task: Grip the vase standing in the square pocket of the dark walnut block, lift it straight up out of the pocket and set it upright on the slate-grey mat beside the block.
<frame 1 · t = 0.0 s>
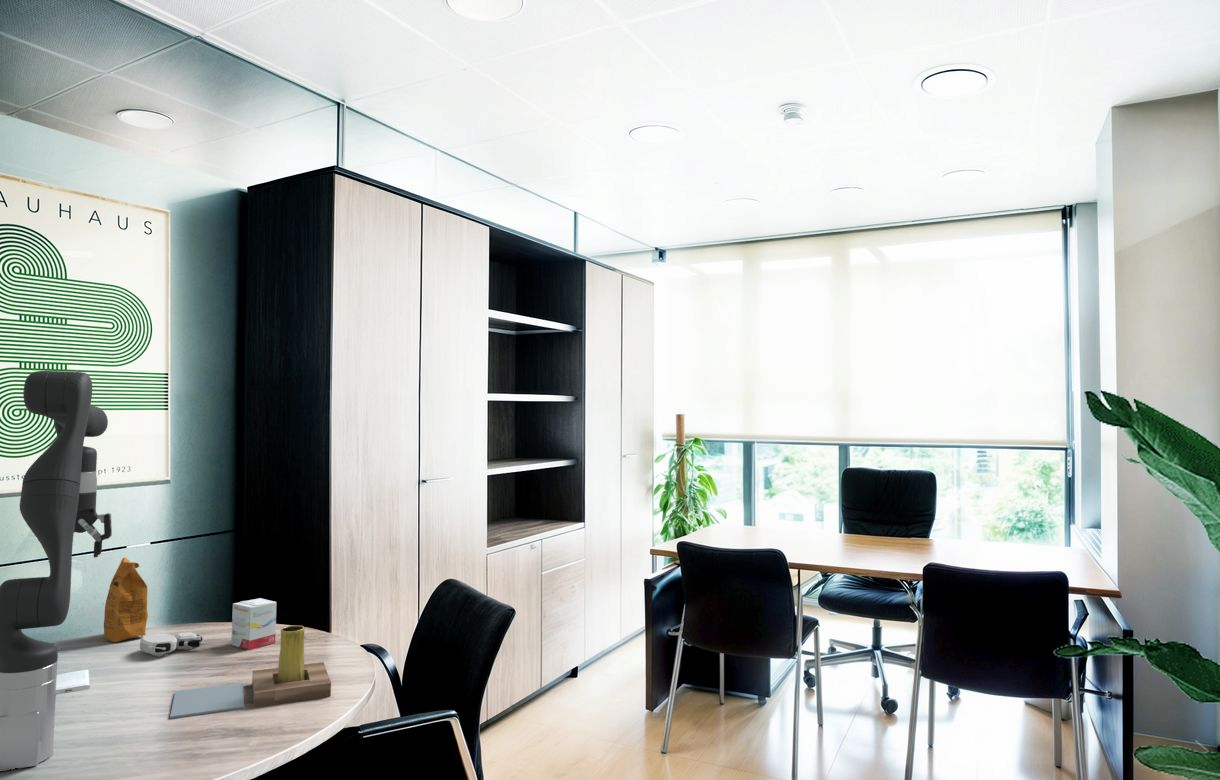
hand: (74, 558, 179), 29 cm above the table, tool pointing down, fingers open, 8 cm apart
pocket block: (290, 689, 175), on the table
hard drive: (67, 687, 176), on the table
vase: (290, 690, 175), resting in pocket block
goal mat: (208, 700, 167), on the table
ink box: (253, 644, 209), on the table
robot toy: (171, 652, 202), on the table
coffee package: (124, 637, 214), on the table
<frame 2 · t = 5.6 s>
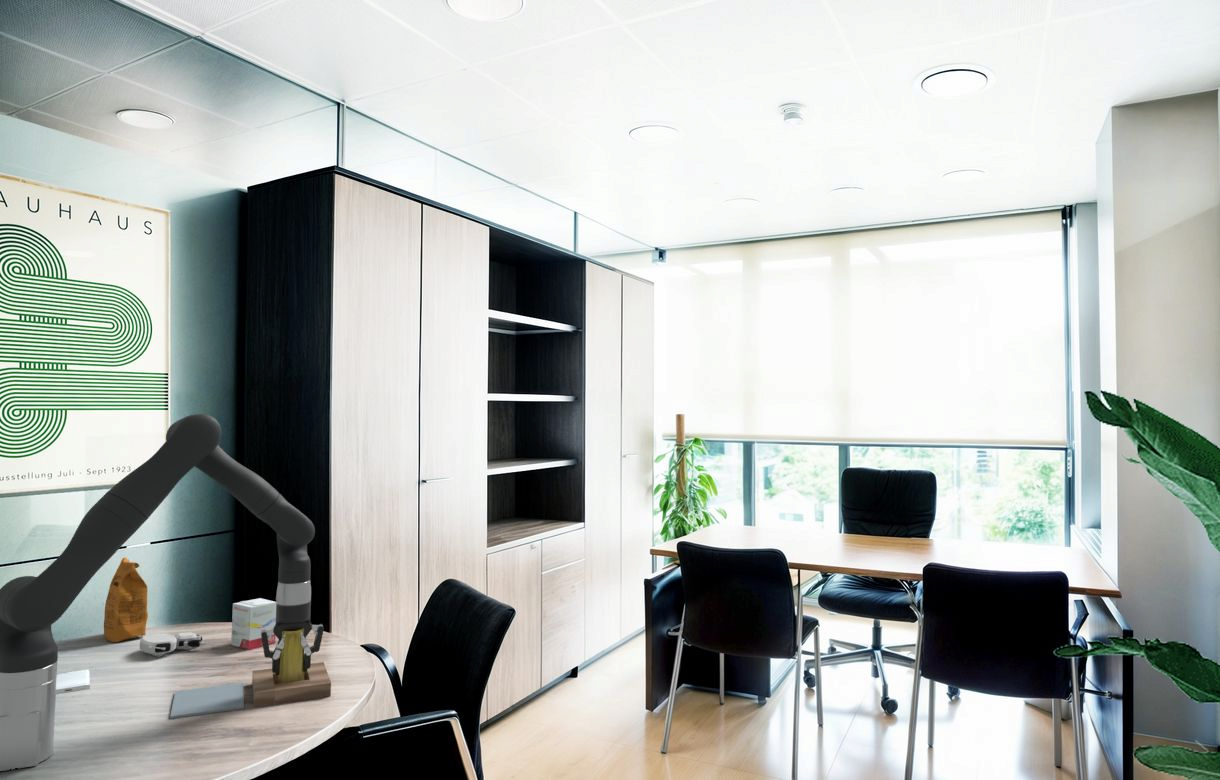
hand: (291, 672, 175), 4 cm above the table, tool pointing down, fingers closed on vase, 5 cm apart
vase: (290, 690, 175), resting in pocket block, touching gripper
everything else where it was.
when the fingers open (6 cm above the table, at t = 11.3 s): vase drops 1 cm, resting on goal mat.
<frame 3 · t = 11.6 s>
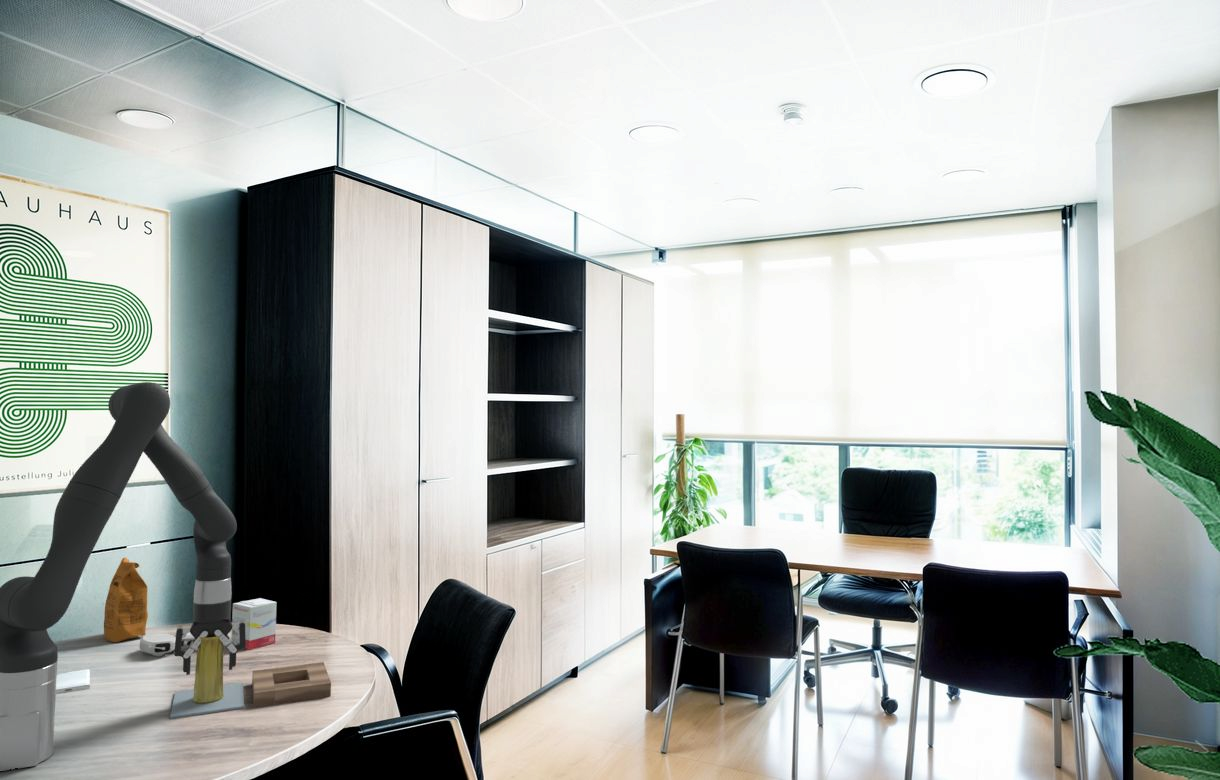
hand: (209, 671, 168), 7 cm above the table, tool pointing down, fingers open, 8 cm apart
vase: (208, 699, 167), resting on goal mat
everything else where it was.
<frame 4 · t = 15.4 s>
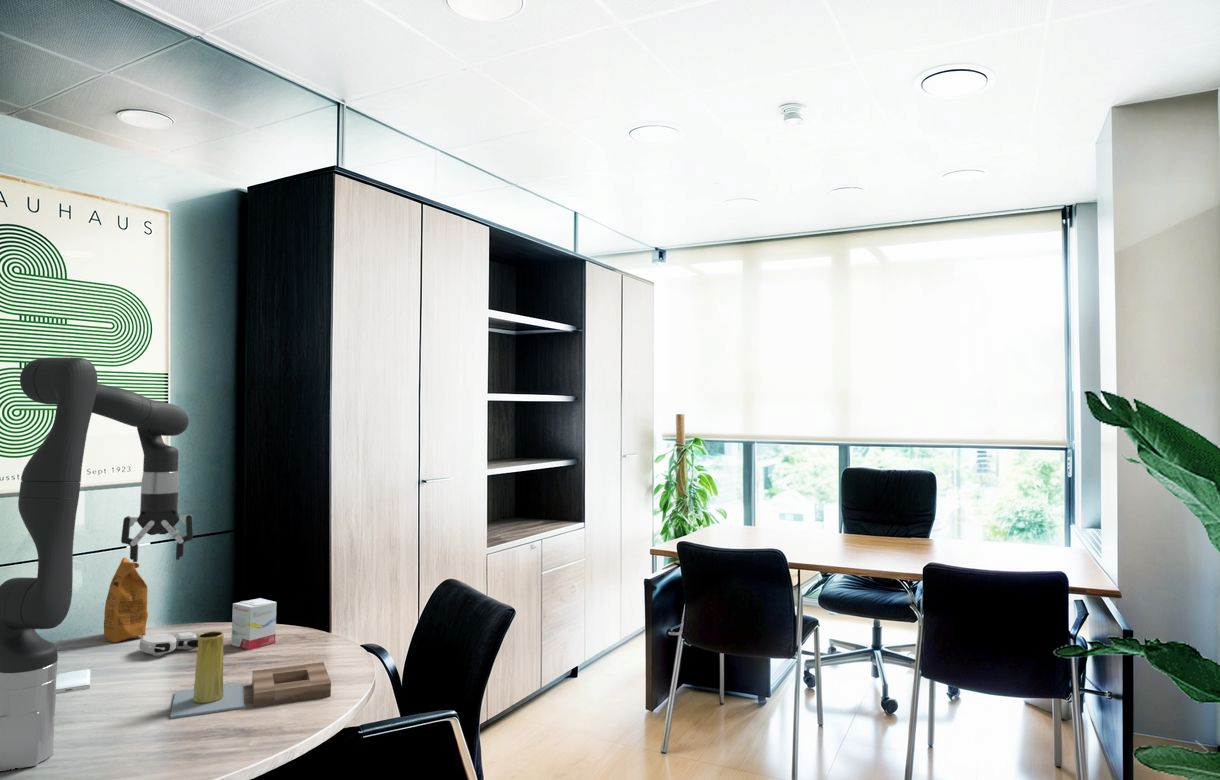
hand: (157, 560, 174), 30 cm above the table, tool pointing down, fingers open, 8 cm apart
nothing on the table moved.
at the end: vase inside the target area (0.1 cm from its centre), resting on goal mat; vase tilted 0°; the gripper is holding nothing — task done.
